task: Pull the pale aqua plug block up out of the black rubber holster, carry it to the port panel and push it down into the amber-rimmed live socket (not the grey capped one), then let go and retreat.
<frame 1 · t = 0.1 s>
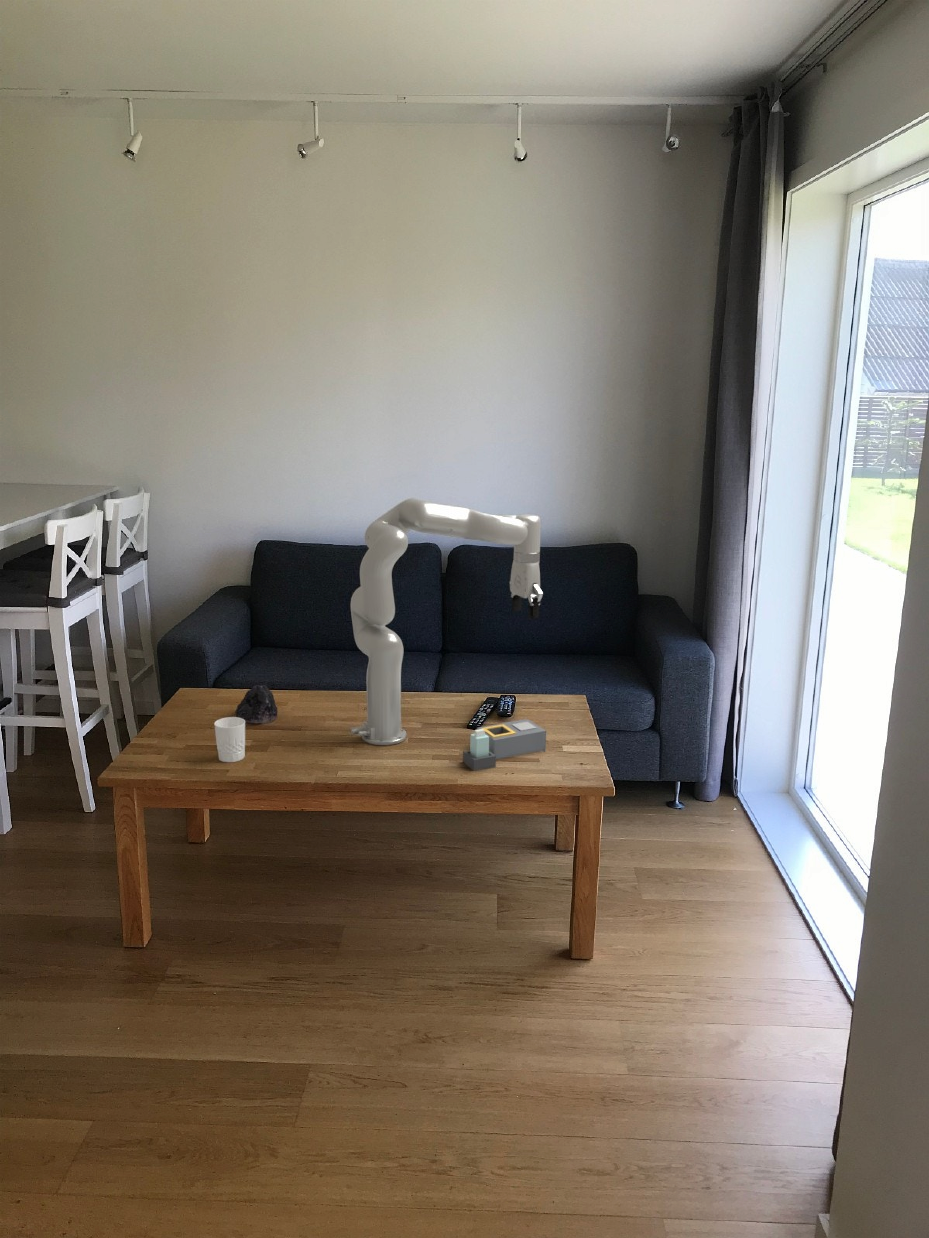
hand: (524, 614, 273), 31 cm above the table, fingers open, 9 cm apart
white cup: (231, 758, 246), on the table
port panel: (510, 749, 253), on the table
plug: (479, 764, 242), resting on holster
crystal cluster: (257, 718, 275), on the table
holster: (479, 765, 242), on the table
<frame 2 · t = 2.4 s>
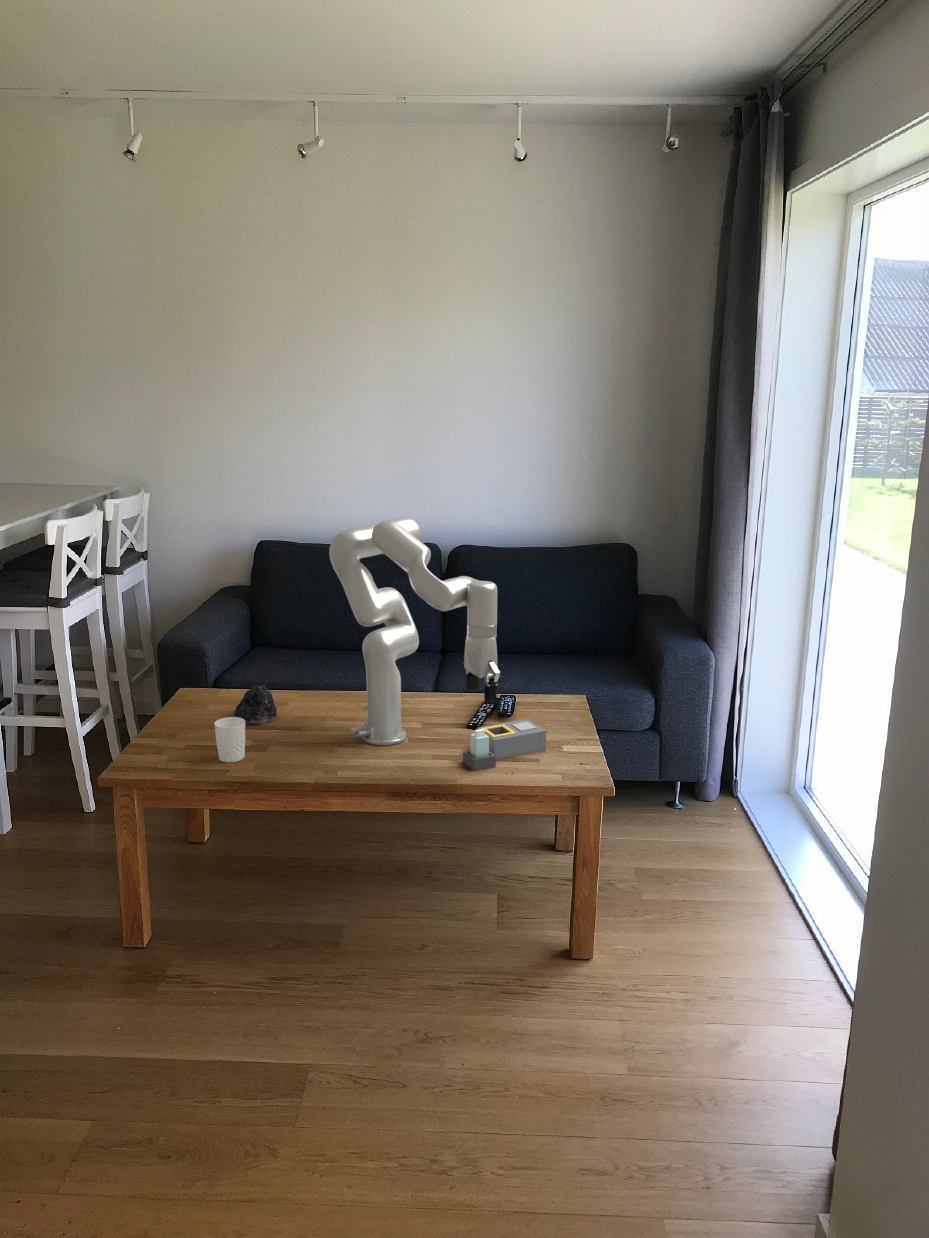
hand: (481, 694, 237), 20 cm above the table, fingers open, 9 cm apart
nothing on the table moved.
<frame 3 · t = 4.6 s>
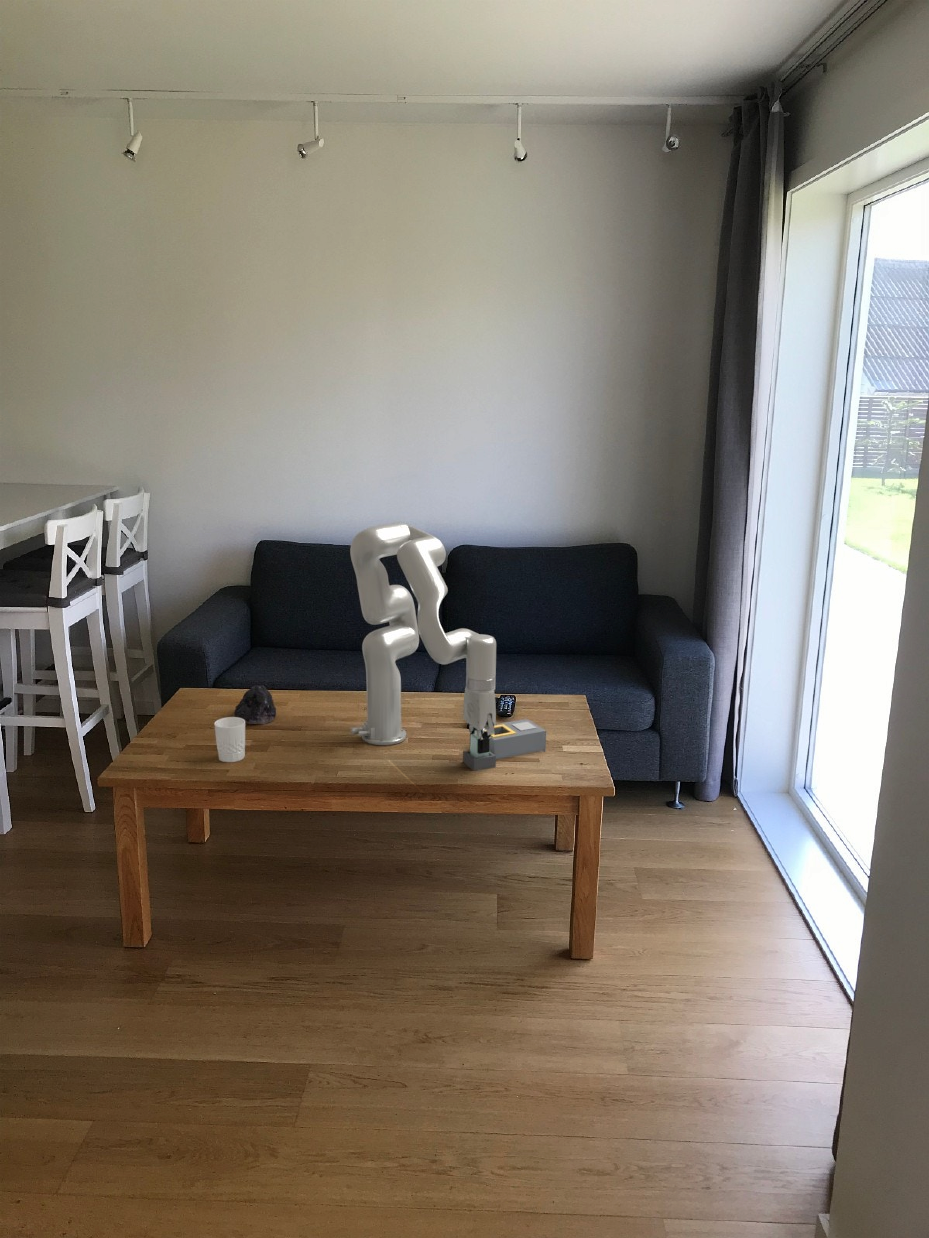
hand: (479, 749, 241), 5 cm above the table, fingers closed on plug, 3 cm apart
plug: (479, 764, 242), point 1 cm above the table, touching gripper, holster
everything else where it was.
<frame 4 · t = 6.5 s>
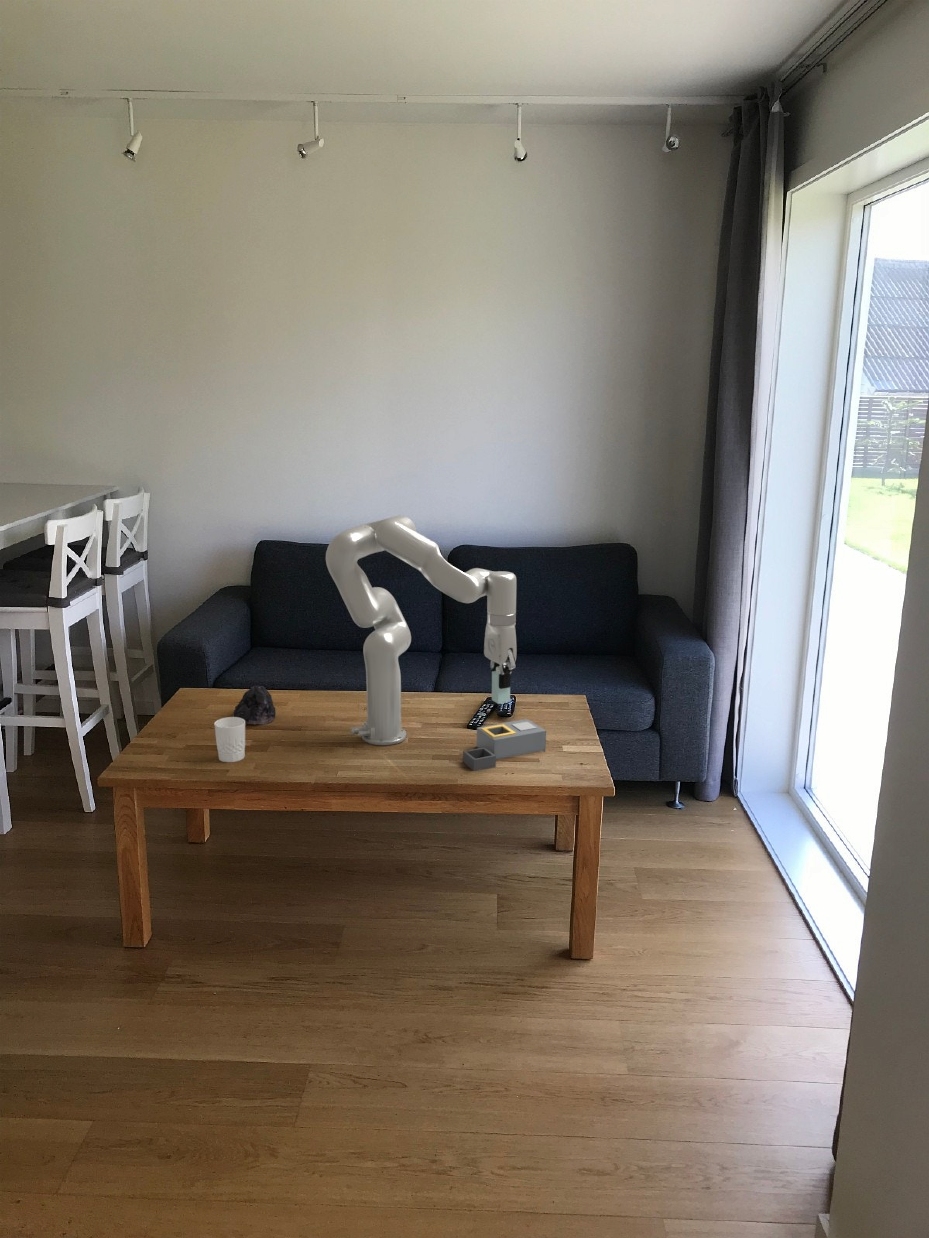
hand: (500, 684, 247), 19 cm above the table, fingers closed on plug, 3 cm apart
plug: (500, 700, 248), point 15 cm above the table, touching gripper
everything else where it was.
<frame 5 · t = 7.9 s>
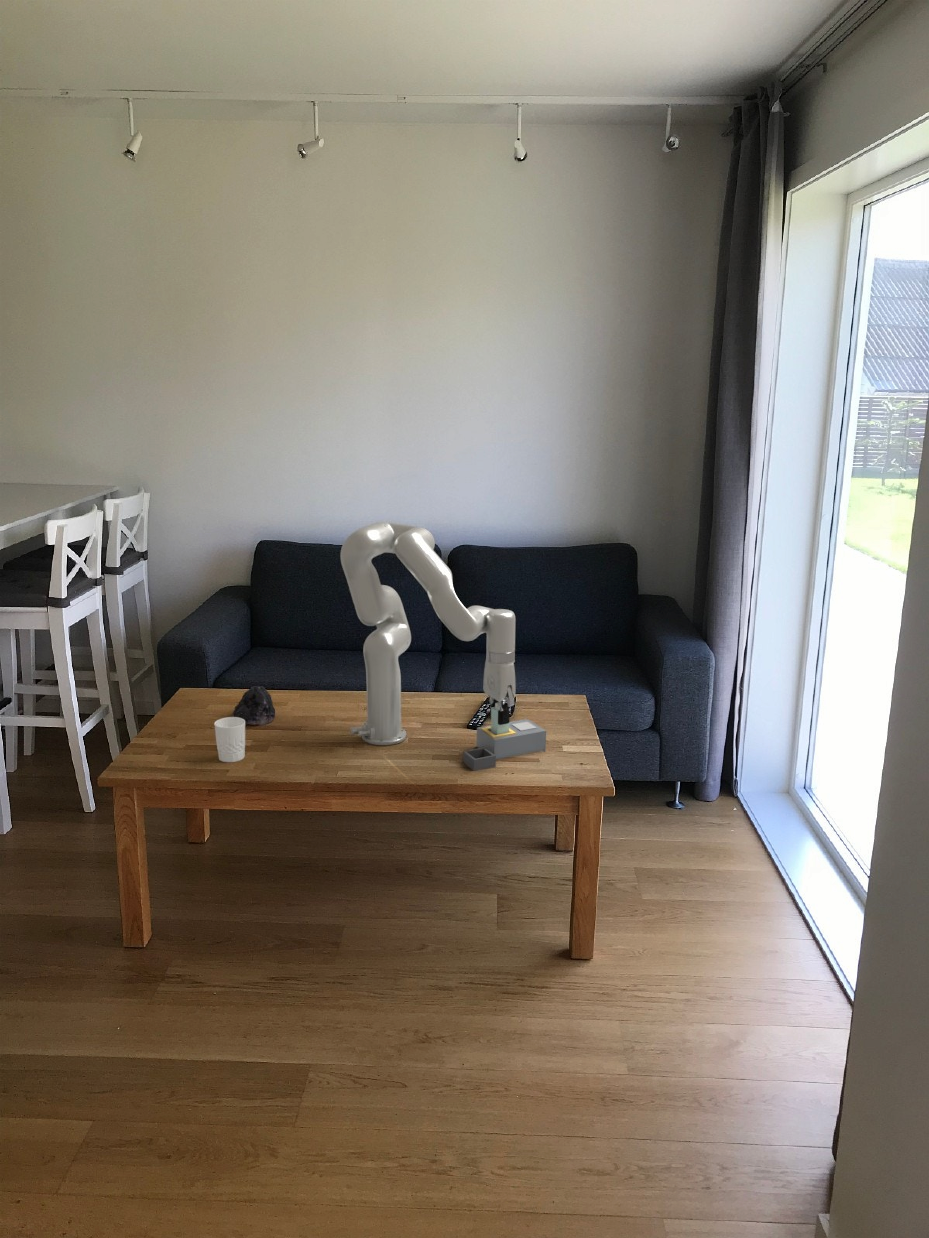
hand: (499, 720, 249), 9 cm above the table, fingers closed on plug, 3 cm apart
plug: (500, 736, 250), point 5 cm above the table, touching gripper
when the fingers open (7 cm above the table, at t = 8.6 s): plug drops 1 cm, resting on port panel.
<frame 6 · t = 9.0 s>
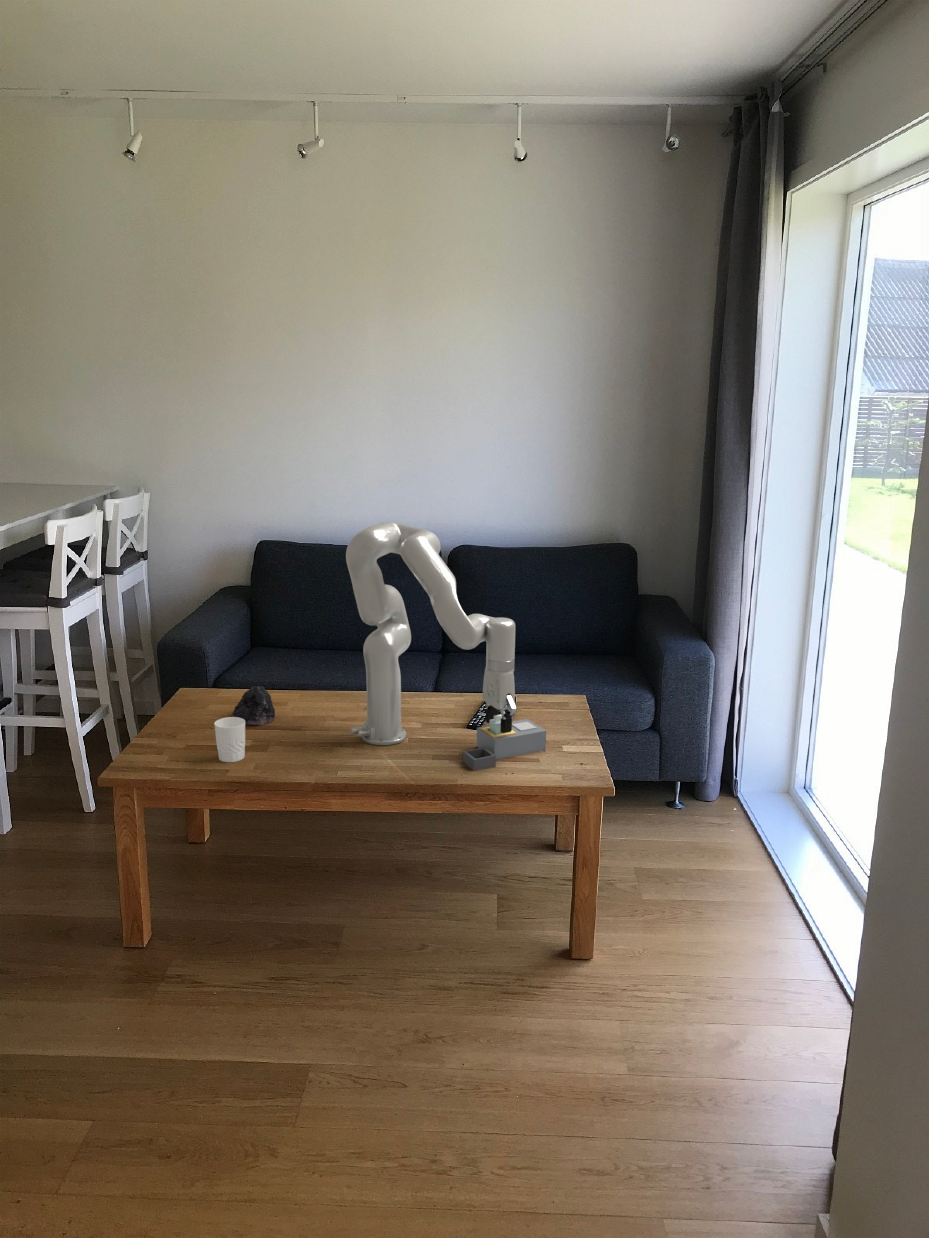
hand: (498, 726, 250), 7 cm above the table, fingers open, 7 cm apart
plug: (498, 748, 252), point 1 cm above the table, touching port panel
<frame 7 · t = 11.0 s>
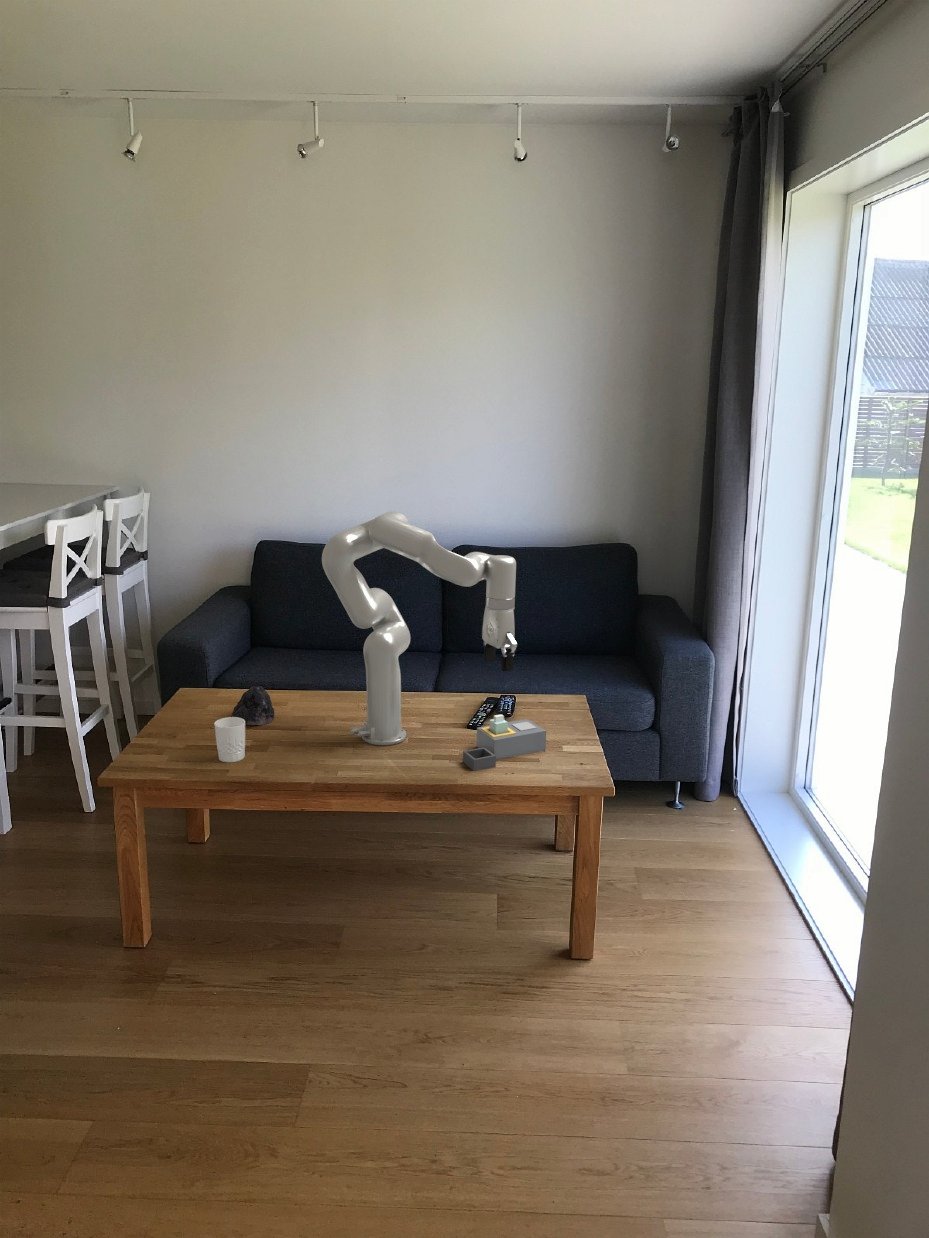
hand: (498, 665, 246), 24 cm above the table, fingers open, 9 cm apart
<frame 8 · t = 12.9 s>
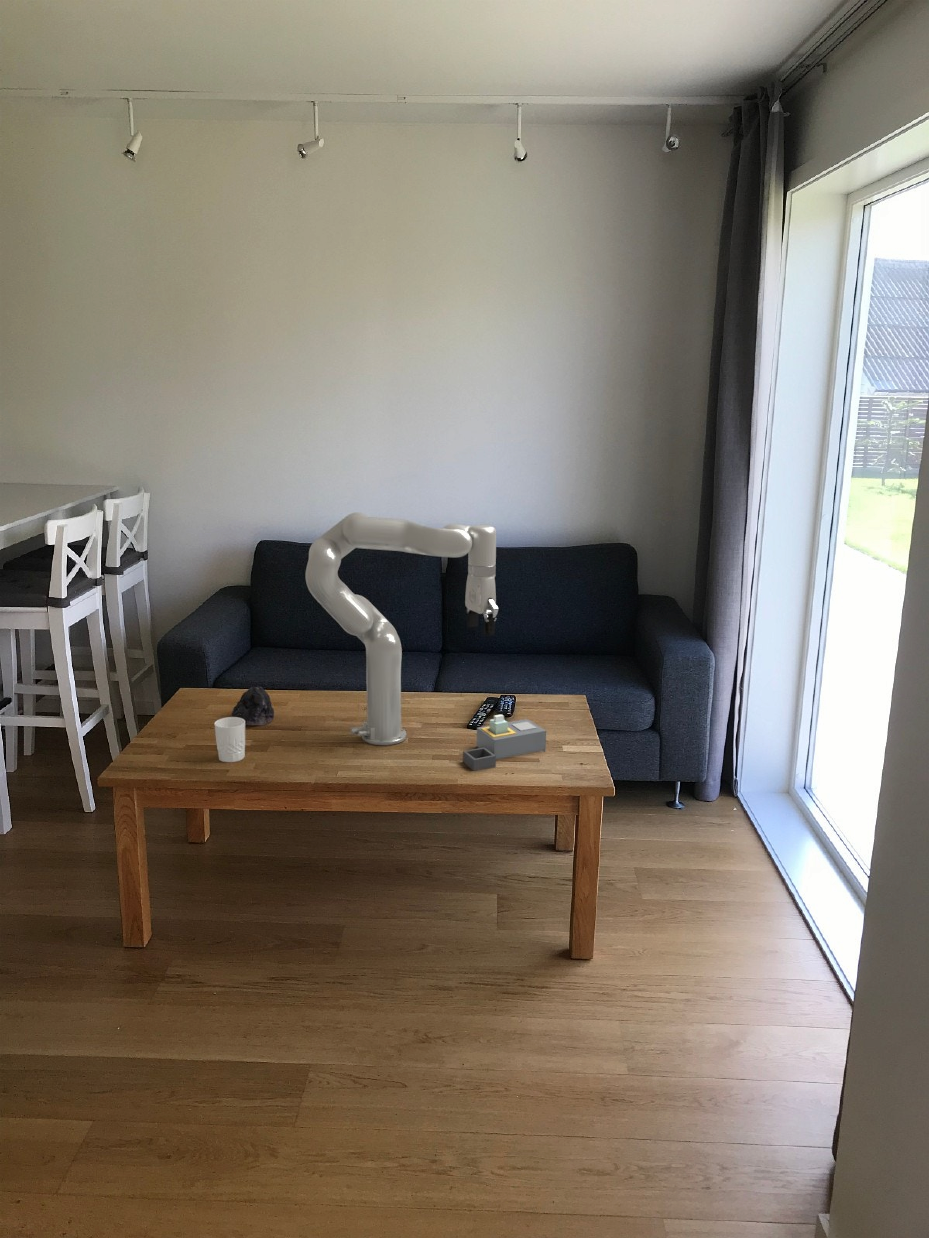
hand: (480, 630, 258), 30 cm above the table, fingers open, 9 cm apart
at the end: plug 0.1 cm from the target spot on the port panel, point 1.0 cm above the port panel's base; plug tilted 0°; the gripper is holding nothing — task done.
